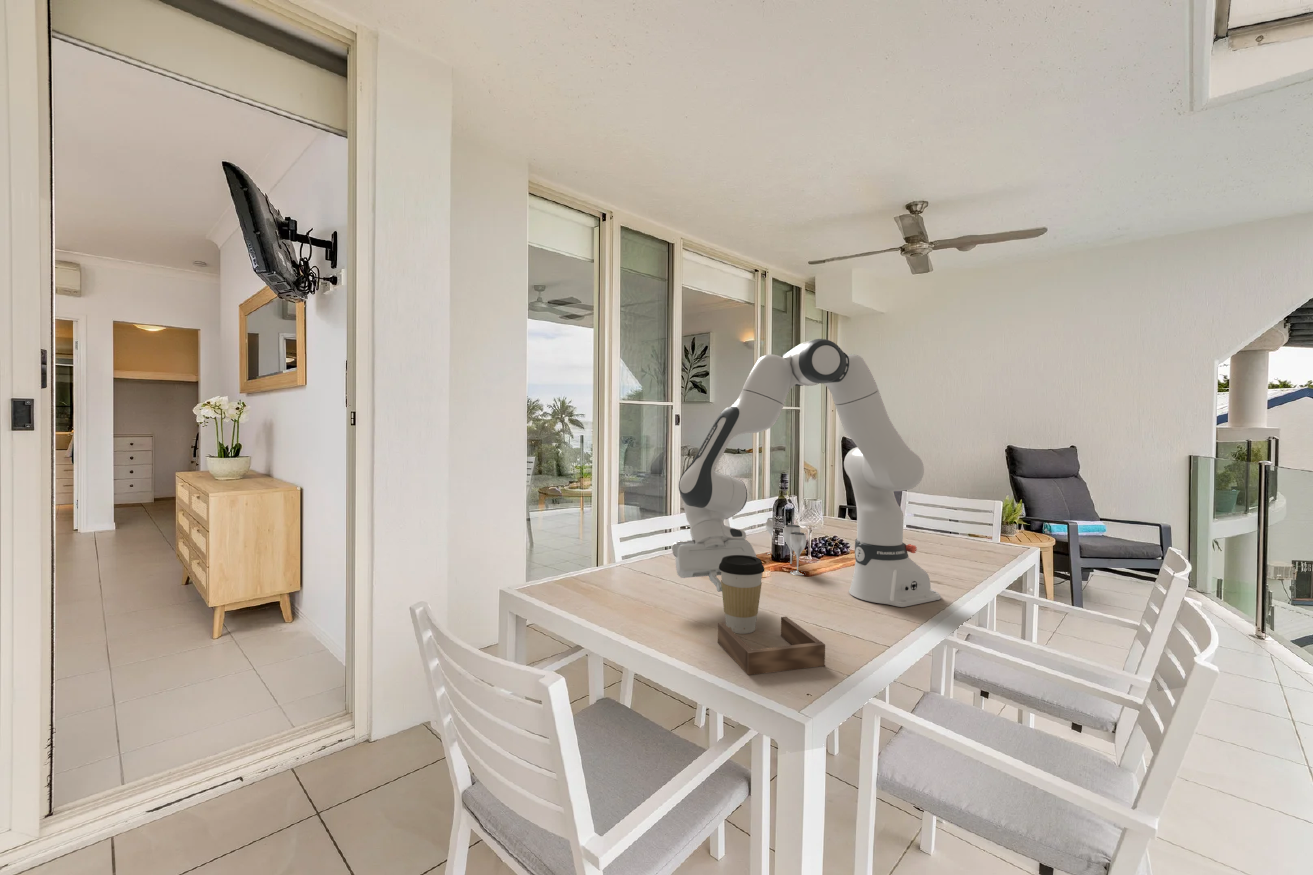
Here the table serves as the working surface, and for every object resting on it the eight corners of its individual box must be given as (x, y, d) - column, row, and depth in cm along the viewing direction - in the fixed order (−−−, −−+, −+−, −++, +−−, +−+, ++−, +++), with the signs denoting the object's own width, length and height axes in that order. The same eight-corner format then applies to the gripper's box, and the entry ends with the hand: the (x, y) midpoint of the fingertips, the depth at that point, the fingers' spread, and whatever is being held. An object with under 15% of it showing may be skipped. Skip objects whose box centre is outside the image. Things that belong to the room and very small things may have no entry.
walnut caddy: (785, 635, 116) (786, 616, 116) (824, 665, 102) (825, 644, 102) (717, 642, 112) (718, 622, 112) (748, 675, 98) (748, 652, 98)
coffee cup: (754, 618, 126) (755, 553, 125) (770, 635, 116) (771, 565, 115) (712, 620, 124) (713, 555, 123) (725, 638, 114) (726, 566, 114)
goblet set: (809, 575, 161) (810, 530, 161) (790, 575, 160) (791, 530, 160) (779, 552, 189) (780, 513, 188) (763, 552, 188) (763, 513, 188)
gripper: (673, 534, 133) (685, 586, 124) (751, 530, 138) (768, 580, 129) (667, 548, 137) (679, 599, 128) (743, 544, 143) (759, 593, 134)
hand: (724, 590), depth 129 cm, fingers closed
